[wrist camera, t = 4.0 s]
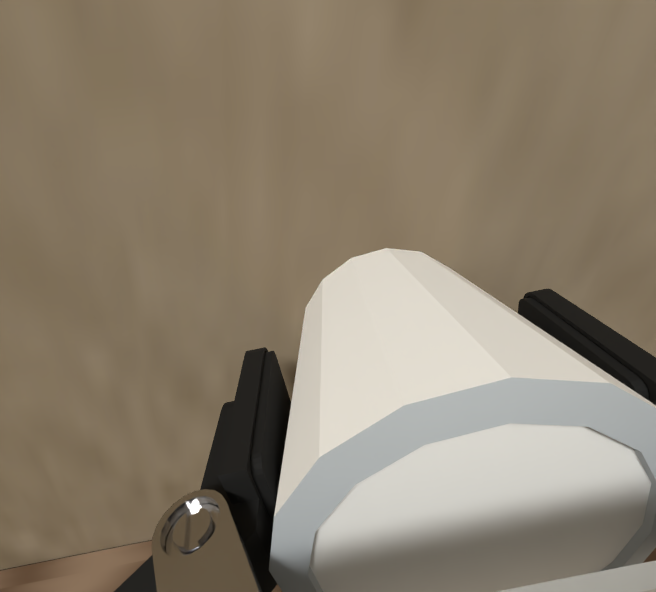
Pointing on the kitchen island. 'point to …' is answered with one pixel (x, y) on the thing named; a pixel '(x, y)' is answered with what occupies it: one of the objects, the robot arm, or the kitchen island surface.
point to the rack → (90, 571)
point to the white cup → (452, 444)
